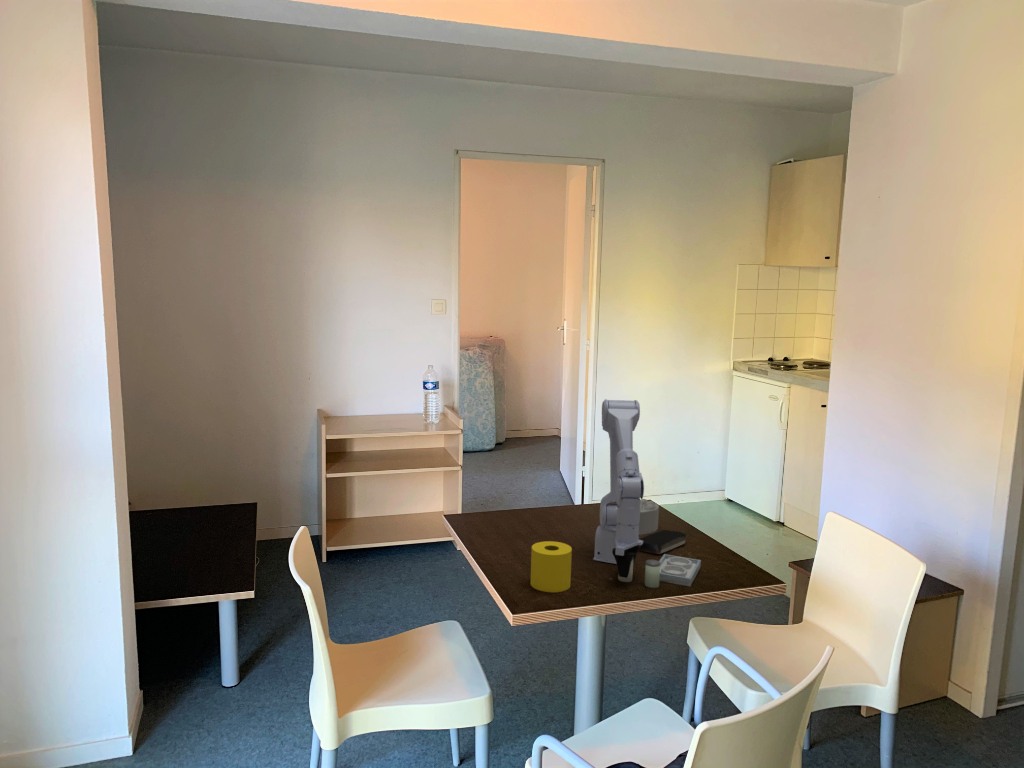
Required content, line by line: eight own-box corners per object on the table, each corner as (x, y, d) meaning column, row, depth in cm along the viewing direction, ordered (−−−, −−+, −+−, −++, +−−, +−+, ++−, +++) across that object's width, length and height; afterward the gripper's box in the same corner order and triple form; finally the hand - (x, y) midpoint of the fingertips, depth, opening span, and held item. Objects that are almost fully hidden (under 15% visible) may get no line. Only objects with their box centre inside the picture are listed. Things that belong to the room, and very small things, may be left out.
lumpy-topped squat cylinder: (613, 527, 236) (614, 500, 235) (640, 520, 244) (642, 494, 243) (638, 536, 228) (640, 508, 227) (666, 528, 236) (667, 501, 235)
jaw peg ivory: (616, 580, 192) (617, 557, 191) (620, 575, 195) (621, 553, 195) (630, 583, 191) (631, 560, 190) (633, 578, 194) (635, 555, 193)
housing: (651, 579, 193) (651, 571, 193) (663, 561, 207) (664, 553, 207) (690, 586, 189) (690, 578, 189) (700, 567, 203) (701, 559, 203)
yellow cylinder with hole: (578, 587, 187) (579, 550, 186) (545, 595, 181) (547, 557, 180) (554, 574, 195) (556, 539, 194) (522, 581, 190) (523, 545, 189)
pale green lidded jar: (643, 586, 189) (644, 563, 188) (646, 581, 192) (647, 558, 191) (657, 588, 187) (658, 565, 187) (660, 583, 191) (661, 561, 190)
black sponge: (657, 558, 210) (658, 545, 209) (632, 550, 216) (633, 538, 215) (688, 545, 221) (689, 533, 221) (663, 538, 227) (664, 526, 227)
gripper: (636, 533, 183) (633, 586, 185) (650, 517, 196) (647, 567, 198) (608, 528, 186) (605, 581, 187) (623, 513, 199) (621, 562, 201)
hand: (625, 574), depth 193 cm, fingers closed on jaw peg ivory, 4 cm apart
